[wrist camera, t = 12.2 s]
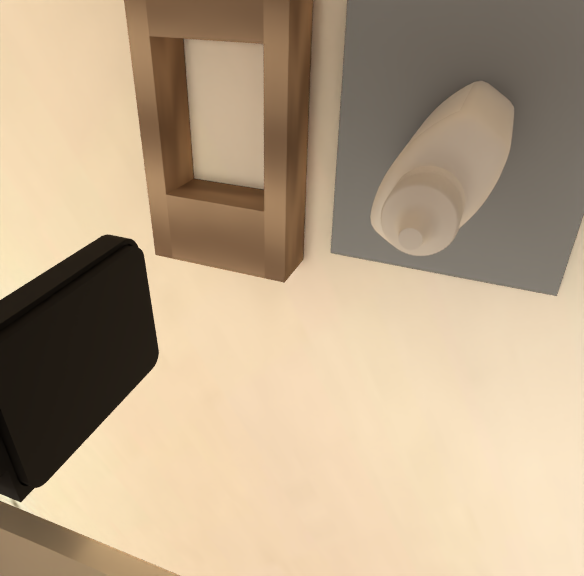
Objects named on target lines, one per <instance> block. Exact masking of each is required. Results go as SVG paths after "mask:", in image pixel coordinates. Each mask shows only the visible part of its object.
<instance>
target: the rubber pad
mask: <svg viewBox="0 0 584 576" xmlns="http://www.w3.org/2000/svg"><path fill="white" fill-rule="evenodd" d="M476 81H484V82H487V83H489V84H490V85H491V86H493V87H494V88H495V89H496V90H498V91H499V92H500V93H501V94H502V95H504V96H505V97H506V98H507V99H508V100H509V101H510V102H511V103H512V105H513V106H514V121H513V131H512V140H511V147H510V151H509V155H508V158H507V161H506V163H505V166H504V168H503V170H502V173H501V175H500V177H499V179H498V181H497V183H496V185H495V186H494V188H493V190H492V191H491V193H490V195H489V196H488V198H487V199H486V200H485V202H484V203H483V205H482V206H481V207H480V208H479V209H478V211H477V212H476V213H475V214H474V215H473V216H472V217H471V218H470V219H469V220H468V221H467V222H466V223H465V224H464V225H463V226H461V227H460V228H459V229H458V232H457V235H456V236H455V239H453V241H452V242H450V245H447V247H446V248H444V250H441V251H440V252H437V253H433V255H431V254H430V255H429V256H428V255H426V256H423V255H422V256H419V255H418V256H416V255H411V254H410V255H409V254H408V253H404V252H401V250H398V249H397V248H395V247H394V246H393V245H392V244H390V243H389V242H388V241H386V240H385V239H384V238H383V237H382V236H381V235H379V234H378V233H377V232H376V231H375V229H374V228H373V226H372V225H371V218H370V216H371V209H372V206H373V202H374V199H375V196H376V193H377V191H378V188H379V186H380V184H381V182H382V180H383V178H384V176H385V175H386V173H387V171H388V170H389V168H390V167H391V165H392V164H393V162H394V161H395V160H396V158H397V157H398V156H399V154H400V153H401V152H402V150H403V149H404V148H405V146H406V145H407V144H408V142H409V141H410V140H411V138H412V137H413V136H414V134H415V133H416V132H417V130H418V129H419V128H420V127H421V125H422V124H423V123H424V121H425V120H426V119H427V118H428V117H429V115H430V114H431V113H432V112H433V111H434V110H435V109H436V108H437V107H438V106H439V105H440V104H441V103H443V102H444V101H445V100H446V99H447V98H449V97H450V96H451V95H453V94H454V93H456V92H457V91H459V90H460V89H462V88H464V87H465V86H467V85H469V84H471V83H473V82H476ZM583 215H584V0H348V1H347V16H346V31H345V46H344V61H343V76H342V91H341V106H340V120H339V135H338V150H337V165H336V180H335V195H334V210H333V225H332V240H331V253H333V254H339V255H344V256H349V257H354V258H360V259H365V260H370V261H375V262H381V263H386V264H391V265H396V266H402V267H407V268H412V269H417V270H423V271H428V272H433V273H438V274H444V275H449V276H454V277H460V278H465V279H470V280H475V281H481V282H486V283H491V284H496V285H502V286H507V287H512V288H517V289H523V290H528V291H533V292H538V293H544V294H549V295H554V296H557V294H558V291H559V288H560V284H561V281H562V278H563V275H564V272H565V269H566V266H567V263H568V260H569V257H570V254H571V251H572V248H573V245H574V242H575V239H576V236H577V233H578V230H579V227H580V224H581V221H582V218H583Z"/></svg>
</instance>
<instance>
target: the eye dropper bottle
mask: <svg viewBox="0 0 584 576" xmlns="http://www.w3.org/2000/svg"><path fill="white" fill-rule="evenodd" d="M513 121H514V106H513V105H512V103H511V102H510V101H509V100H508V99H507V98H506V97H505V96H504V95H502V94H501V93H500V92H499V91H498V90H496V89H495V88H494V87H493V86H491V85H490V84H489V83H487V82H484V81H476V82H473V83H471V84H469V85H467V86H465V87H464V88H462V89H460V90H459V91H457V92H456V93H454V94H453V95H451V96H450V97H449V98H447V99H446V100H445V101H444V102H443V103H441V104H440V105H439V106H438V107H437V108H436V109H435V110H434V111H433V112H432V113H431V114H430V115H429V117H428V118H427V119H426V120H425V121H424V123H423V124H422V125H421V127H420V128H419V129H418V130H417V132H416V133H415V134H414V136H413V137H412V138H411V140H410V141H409V142H408V144H407V145H406V146H405V148H404V149H403V150H402V152H401V153H400V154H399V156H398V157H397V158H396V160H395V161H394V162H393V164H392V165H391V167H390V168H389V170H388V171H387V173H386V175H385V176H384V178H383V180H382V182H381V184H380V186H379V188H378V191H377V193H376V196H375V199H374V202H373V206H372V209H371V216H370V218H371V225H372V226H373V228H374V229H375V231H376V232H377V233H378V234H379V235H381V236H382V237H383V238H384V239H385V240H386V241H388V242H389V243H390V244H392V245H393V246H394V247H395V248H397V249H398V250H401V252H404V253H408V254H409V255H410V254H411V255H416V256H418V255H419V256H422V255H423V256H426V255H428V256H429V255H430V254H431V255H433V253H437V252H440V251H441V250H444V248H446V247H447V245H450V242H452V241H453V239H455V236H456V235H457V232H458V229H459V228H460V227H461V226H463V225H464V224H465V223H466V222H467V221H468V220H469V219H470V218H471V217H472V216H473V215H474V214H475V213H476V212H477V211H478V209H479V208H480V207H481V206H482V205H483V203H484V202H485V200H486V199H487V198H488V196H489V195H490V193H491V191H492V190H493V188H494V186H495V185H496V183H497V181H498V179H499V177H500V175H501V173H502V170H503V168H504V166H505V163H506V161H507V158H508V155H509V151H510V147H511V140H512V131H513Z"/></svg>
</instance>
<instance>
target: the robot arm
mask: <svg viewBox="0 0 584 576" xmlns="http://www.w3.org/2000/svg"><path fill="white" fill-rule="evenodd" d="M158 354H159V350H158V343H157V337H156V330H155V324H154V318H153V311H152V305H151V298H150V292H149V285H148V279H147V272H146V266H145V259H144V254H143V252H142V250H141V249H140V248H138V245H137V244H136V242H135V241H134V240H132V239H128V238H123V237H118V236H113V235H104V236H101V237H100V238H98V239H97V240H95V241H93V242H92V243H90V244H89V245H87V246H85V247H84V248H82V249H81V250H79V251H78V252H76V253H74V254H73V255H71V256H70V257H68V258H66V259H65V260H63V261H62V262H60V263H58V264H57V265H55V266H54V267H52V268H51V269H49V270H47V271H46V272H44V273H43V274H41V275H39V276H38V277H36V278H35V279H33V280H31V281H30V282H28V283H27V284H25V285H24V286H22V287H20V288H19V289H17V290H16V291H14V292H12V293H11V294H9V295H8V296H6V297H5V298H3V299H1V300H0V494H2V495H4V496H7V497H9V498H12V499H14V500H16V501H19V502H22V501H23V500H24V499H25V497H26V496H27V495H28V494H29V493H30V492H31V491H32V490H33V489H34V488H37V487H40V486H42V485H44V484H45V483H46V482H47V481H48V480H49V479H50V478H51V477H52V476H53V475H54V473H55V472H56V471H57V470H58V469H59V468H60V467H61V466H62V465H63V464H64V463H65V462H66V461H67V460H68V458H69V457H70V456H71V455H72V454H73V453H74V452H75V451H76V450H77V449H78V448H79V447H80V446H81V445H82V444H83V442H84V441H85V440H86V439H87V438H88V437H89V436H90V435H91V434H92V433H93V432H94V431H95V430H96V429H97V427H98V426H99V425H100V424H101V423H102V422H103V421H104V420H105V419H106V418H107V417H108V416H109V415H110V414H111V412H112V411H113V410H114V409H115V408H116V407H117V406H118V405H119V404H120V403H121V402H122V401H123V400H124V399H125V397H126V396H127V395H128V394H129V393H130V392H131V391H132V390H133V389H134V388H135V387H136V386H137V385H138V384H139V382H140V381H141V380H142V379H143V378H144V377H145V376H146V375H147V374H148V373H149V372H150V371H151V370H152V369H153V367H154V366H155V364H156V362H157V359H158ZM0 576H180V575H177V574H175V573H173V572H170V571H168V570H165V569H163V568H161V567H158V566H156V565H153V564H151V563H149V562H146V561H144V560H142V559H139V558H137V557H134V556H132V555H130V554H127V553H125V552H122V551H120V550H118V549H115V548H113V547H110V546H108V545H106V544H103V543H101V542H98V541H96V540H94V539H91V538H89V537H86V536H84V535H82V534H79V533H77V532H74V531H72V530H69V529H67V528H65V527H62V526H60V525H57V524H55V523H52V522H50V521H48V520H45V519H43V518H40V517H38V516H35V515H33V514H31V513H28V512H26V511H23V510H21V509H18V508H16V507H14V506H11V505H9V504H6V503H4V502H1V501H0Z"/></svg>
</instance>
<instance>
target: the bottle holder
mask: <svg viewBox="0 0 584 576" xmlns="http://www.w3.org/2000/svg"><path fill="white" fill-rule="evenodd" d="M124 3H125V11H126V19H127V27H128V35H129V43H130V52H131V60H132V68H133V76H134V84H135V92H136V100H137V108H138V116H139V124H140V132H141V140H142V149H143V157H144V165H145V173H146V181H147V189H148V197H149V205H150V213H151V221H152V229H153V237H154V246H155V254H156V255H159V256H164V257H168V258H173V259H178V260H182V261H187V262H192V263H196V264H201V265H206V266H210V267H215V268H220V269H224V270H229V271H234V272H238V273H243V274H248V275H252V276H257V277H262V278H266V279H271V280H275V281H280V282H285V281H286V280H287V279H288V278H289V276H290V275H291V274H292V273H293V271H294V270H295V269H296V268H297V267H298V265H299V264H300V263H301V262H302V260H303V249H304V222H305V196H306V169H307V142H308V116H309V89H310V62H311V36H312V9H313V0H124ZM183 38H185V39H200V40H215V41H230V42H245V43H261V44H264V190H261V189H255V188H248V187H242V186H236V185H230V184H223V183H217V182H211V181H204V180H198V179H194V176H193V163H192V150H191V137H190V123H189V110H188V97H187V84H186V71H185V57H184V44H183Z"/></svg>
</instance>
